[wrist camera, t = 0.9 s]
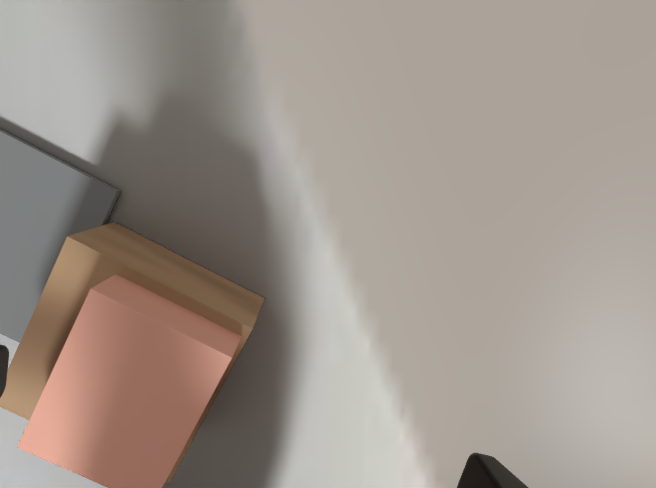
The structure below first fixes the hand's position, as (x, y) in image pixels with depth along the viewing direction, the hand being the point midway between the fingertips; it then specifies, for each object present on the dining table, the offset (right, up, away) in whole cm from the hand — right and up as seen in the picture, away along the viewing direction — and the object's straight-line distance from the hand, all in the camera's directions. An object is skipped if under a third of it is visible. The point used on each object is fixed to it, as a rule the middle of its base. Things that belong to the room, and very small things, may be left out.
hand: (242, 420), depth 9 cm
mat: (-14, +4, +13) cm, 19 cm away
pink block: (-6, -2, +10) cm, 12 cm away
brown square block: (-7, -1, +14) cm, 15 cm away
